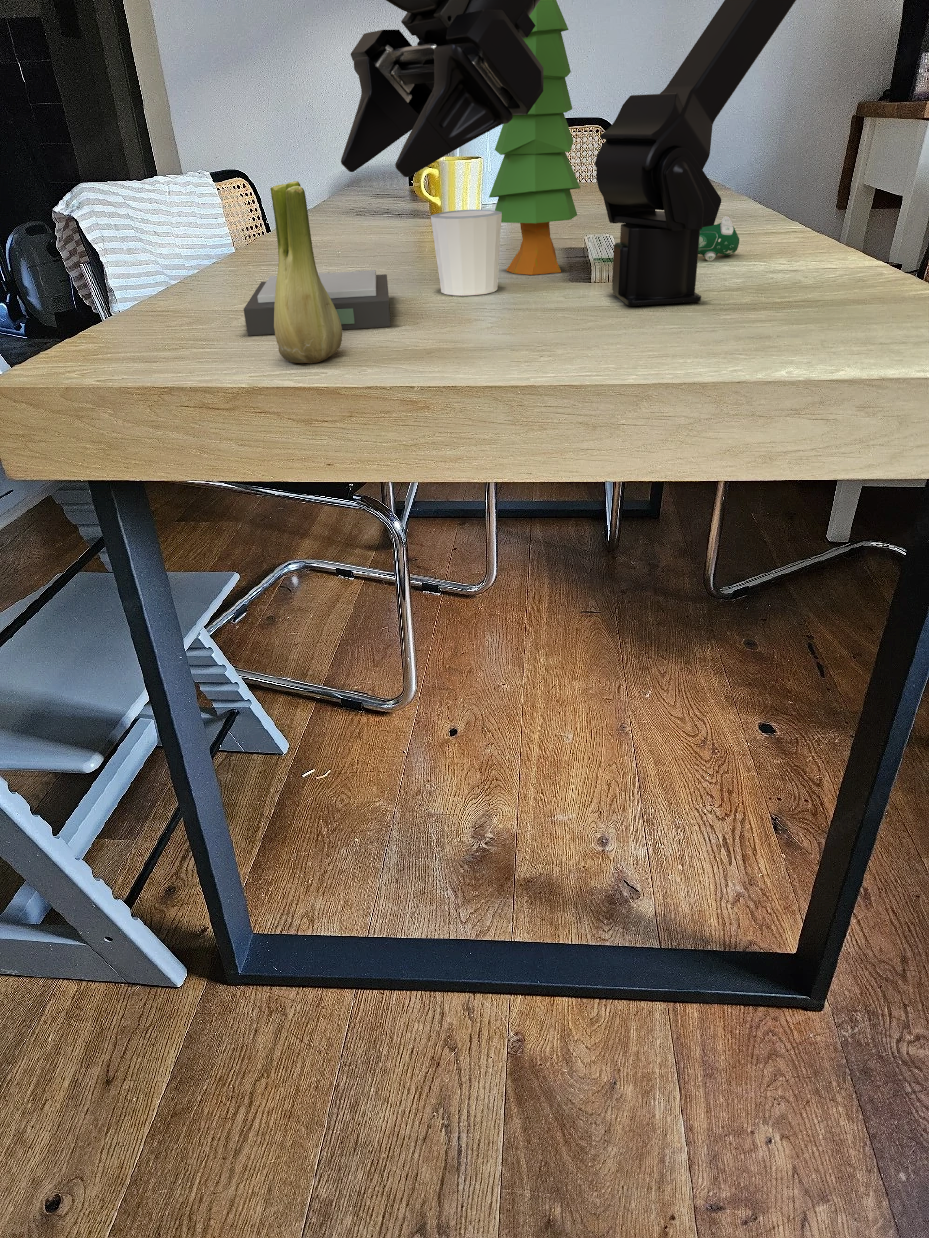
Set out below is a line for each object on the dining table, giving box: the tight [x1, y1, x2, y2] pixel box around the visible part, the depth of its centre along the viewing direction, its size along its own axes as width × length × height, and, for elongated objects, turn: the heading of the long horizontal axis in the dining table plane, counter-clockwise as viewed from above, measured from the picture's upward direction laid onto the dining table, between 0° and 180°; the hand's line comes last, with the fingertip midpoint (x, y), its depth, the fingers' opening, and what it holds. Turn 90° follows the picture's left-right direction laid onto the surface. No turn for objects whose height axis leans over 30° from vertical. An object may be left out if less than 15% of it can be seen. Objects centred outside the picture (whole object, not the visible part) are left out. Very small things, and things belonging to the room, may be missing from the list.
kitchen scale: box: [243, 269, 392, 337], centre depth 79 cm, size 12×13×3 cm
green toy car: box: [698, 215, 740, 262], centre depth 97 cm, size 9×4×6 cm
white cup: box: [430, 209, 502, 297], centre depth 86 cm, size 7×7×7 cm
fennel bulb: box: [270, 180, 343, 364], centre depth 63 cm, size 6×5×12 cm
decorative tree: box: [488, 0, 581, 276], centre depth 89 cm, size 10×9×30 cm
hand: (371, 170), depth 63 cm, fingers open, 9 cm apart
